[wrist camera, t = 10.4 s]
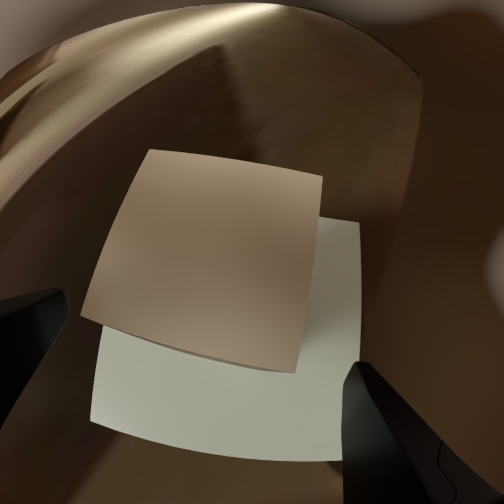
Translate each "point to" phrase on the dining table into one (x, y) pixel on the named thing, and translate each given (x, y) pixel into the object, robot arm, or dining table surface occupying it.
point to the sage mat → (245, 377)
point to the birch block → (211, 259)
